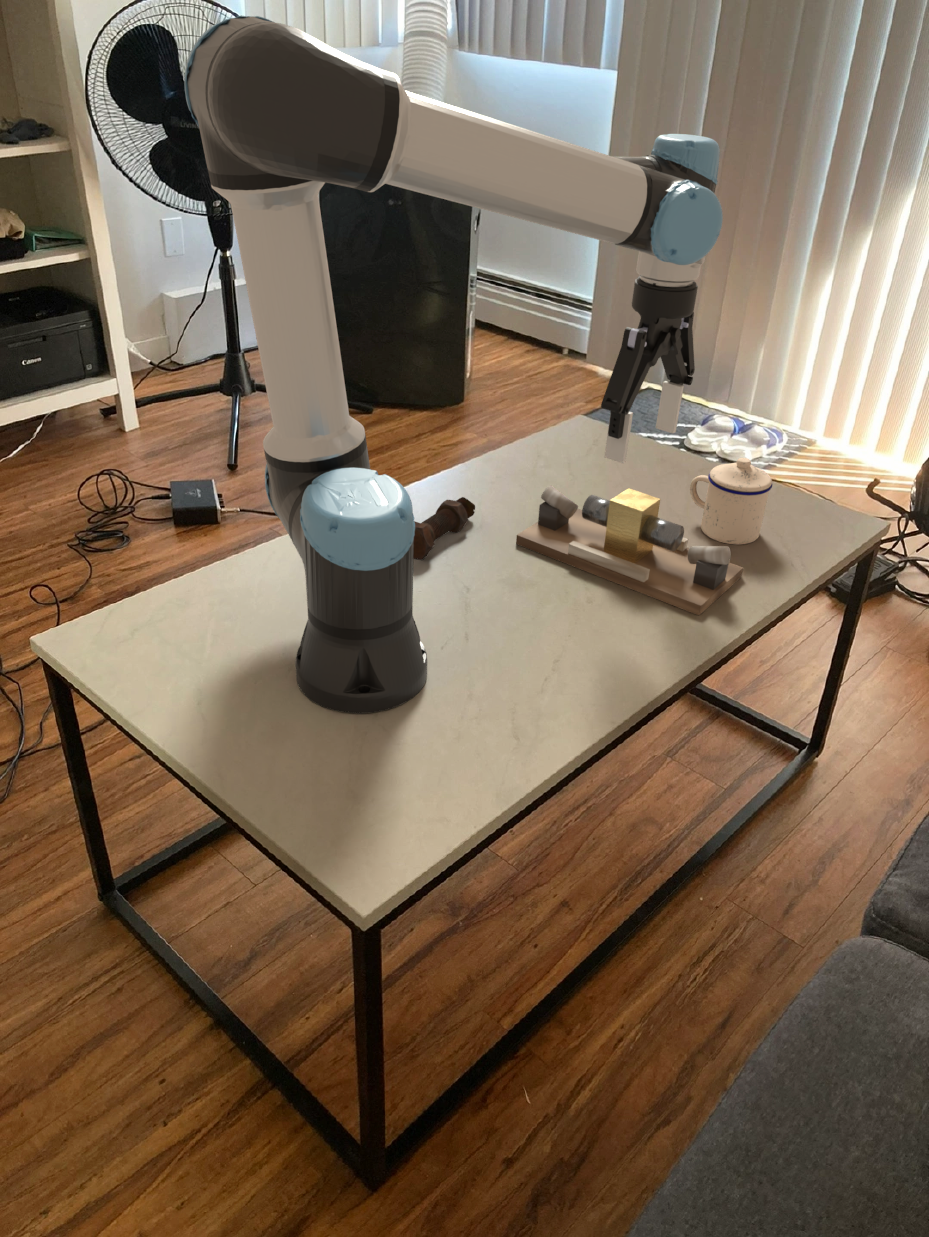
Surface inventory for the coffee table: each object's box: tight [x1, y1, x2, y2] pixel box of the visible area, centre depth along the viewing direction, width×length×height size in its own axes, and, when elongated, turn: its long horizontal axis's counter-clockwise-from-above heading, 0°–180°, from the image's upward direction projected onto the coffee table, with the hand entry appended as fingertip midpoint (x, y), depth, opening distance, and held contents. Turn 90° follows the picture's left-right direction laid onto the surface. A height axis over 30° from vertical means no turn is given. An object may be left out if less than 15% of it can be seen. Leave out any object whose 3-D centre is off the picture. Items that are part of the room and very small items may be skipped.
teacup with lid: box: [689, 457, 773, 545], centre depth 145 cm, size 12×9×12 cm
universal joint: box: [581, 487, 685, 564], centre depth 136 cm, size 5×14×8 cm, turn 52°
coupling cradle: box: [515, 484, 744, 616], centre depth 137 cm, size 13×29×7 cm, turn 52°
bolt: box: [413, 496, 476, 561], centre depth 142 cm, size 6×5×15 cm
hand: (641, 444), depth 130 cm, fingers open, 13 cm apart
